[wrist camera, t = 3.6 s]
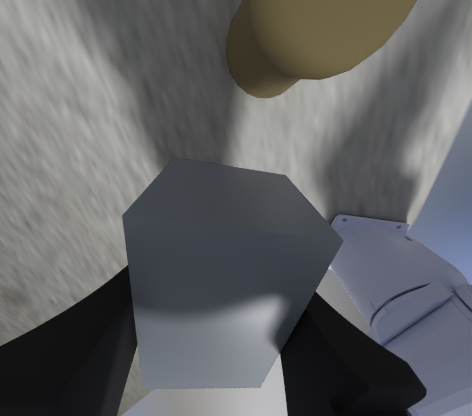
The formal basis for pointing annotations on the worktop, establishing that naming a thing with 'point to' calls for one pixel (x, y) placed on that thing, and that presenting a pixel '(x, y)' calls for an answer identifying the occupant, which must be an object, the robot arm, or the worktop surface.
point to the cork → (306, 39)
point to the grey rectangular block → (220, 272)
